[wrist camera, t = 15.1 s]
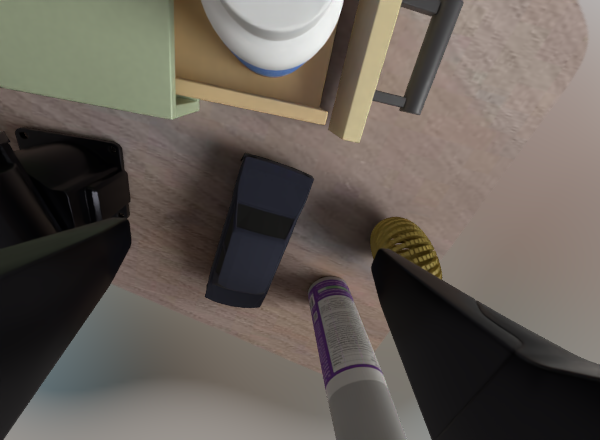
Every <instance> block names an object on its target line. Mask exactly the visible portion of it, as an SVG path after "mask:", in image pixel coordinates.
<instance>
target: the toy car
mask: <svg viewBox="0 0 600 440" xmlns="http://www.w3.org/2000/svg"><path fill="white" fill-rule="evenodd" d="M242 160H243V161H242ZM241 161H242V164H241V167H240V170H239V174H238V177H237V180H236V184H235V188H234V192H233V196H232V201H231V204H230V207H229V211H228V214H227V217H226V220H225V224H224V227H223V231H222V234H221V237H220V241H219V244H218V248H217V251H216V255H215V258H214V261H213V265H212V268H211V272H210V276H209V280H208V284H207V289H206V294H205V297H206V298H208V299H210V300H212V301H215V302H218V303H221V304H225V305H229V306H234V307H242V308H258V307H260V306H261V304H262V302H263V300H264V298H265V296H266V294H267V292H268V290H269V287H270V285H271V282H272V280H273V278H274V275H275V273H276V270H277V268H278V266H279V263H280V261H281V259H282V256H283V254H284V251H285V249H286V247H287V244H288V242H289V239H290V237H291V235H292V232H293V230H294V227H295V225H296V222H297V219H298V217H299V215H300V213H301V211H302V209H303V207H304V205H305V203H306V200H307V197H308V195H309V192H310V189H311V186H312V183H313V180H314V179H313V176H311V175H309V174H307V173H304V172H302V171H300V170H297V169H295V168H292V167H289V166H286V165H284V164H281V163H278V162H275V161H272V160H269V159H266V158H263V157H259V156H256V155H252V154H248V153H245V154H244V155H243V157H242V159H241Z"/></svg>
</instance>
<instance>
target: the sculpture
mask: <svg viewBox="0 0 600 440" xmlns="http://www.w3.org/2000/svg"><path fill="white" fill-rule="evenodd" d="M395 229H396V230H395ZM387 234H388V235H387ZM391 238H394V239H392V240H391ZM397 243H402V244H400V245H399V244H397ZM394 244H397V245H394ZM370 246H371V252H372V256H373V258H375V256H376V253H377V251H378V250H379V249H380V248H385V249H390V250H392V251H394V252H396V253H397V254H399V255H401V256H402V257H404V258H406V259H407V260H409V261H411V262H412V263H414V264H416V265H418V266H419V267H421V268H423V269H424V270H426V271H428V272H429V273H431V274H433V275H435V276H436V277H438V278H440V279H441V280H442V271H441V267H440V263H439V259H438V257H437V256H436V255H437V254H436V252H435V251H433V250H434V248H433V246H432V245H431V242H430V240H429V239H428V237H426V235H425V234H424V232H423V231H422V230H421V229H420V228H419V227H418V226H417V225H416V224H414V223H413V222H411V221H409V220H408V219H405V218H401V217H390V218H386V219H384V220H382V221H380V222H379V223H378V224H377V225H376V226H375V227H374V229H373V231H372V234H371V237H370ZM404 248H408V249H404ZM402 249H403V250H402ZM400 253H401V254H400ZM404 253H405V254H404Z"/></svg>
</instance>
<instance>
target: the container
mask: <svg viewBox="0 0 600 440" xmlns="http://www.w3.org/2000/svg"><path fill="white" fill-rule="evenodd" d="M308 299H309V304H310V310H311V315H312V320H313V326H314V331H315V336H316V342H317V347H318V352H319V357H320V363H321V368H322V373H323V379H324V384H325V389H326V394H327V398H328V403H329V408H330V412H331V417H332V421H333V426H334V431H335V436H336V440H407V438H406V435H405V433H404V429H403V427H402V424H401V421H400V419H399V416H398V413H397V411H396V408H395V405H394V403H393V400H392V397H391V395H390V392H389V389H388V387H387V384H386V381H385V378H384V376H383V373H382V371H381V368H380V366H379V363H378V361H377V358H376V356H375V353H374V351H373V348H372V346H371V343H370V341H369V338H368V336H367V333H366V331H365V328H364V326H363V323H362V321H361V318H360V316H359V313H358V311H357V308H356V306H355V303H354V301H353V298H352V296H351V293H350V291H349V288H348V286H347V284H346V282H345V281H344V280H342V279H341V278H338V277H332V276H330V277H324V278H321V279H319V280H317V281H315V282H314V283H313V284H312V285H311V286H310V288H309V291H308Z"/></svg>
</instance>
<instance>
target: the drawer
mask: <svg viewBox="0 0 600 440" xmlns="http://www.w3.org/2000/svg"><path fill="white" fill-rule="evenodd" d="M400 6H401V7H404V8H407V9H410V10H413V11H416V12H419V13H422V14H426V15H429V16H432V18H431V21H430V24H429V26H428V29H427V32H426V35H425V38H424V41H423V44H422V46H421V49H420V52H419V55H418V58H417V61H416V64H415V66H414V69H413V72H412V75H411V78H410V81H409V83H408V86H407V89H406V92H405V95H404V97H401V96H397V95H393V94H389V93H385V92H381V91H377V90H375V89H376V86H377V83H378V79H379V76H380V73H381V69H382V66H383V63H384V59H385V56H386V53H387V50H388V46H389V43H390V40H391V36H392V33H393V30H394V26H395V23H396V20H397V16H398V13H399V10H400ZM462 6H463V1H462V0H359V3H358V7H357V12H356V16H355V20H354V24H353V28H352V32H351V36H350V41H349V45H348V49H347V53H346V57H345V61H344V66H343V70H342V74H341V78H340V82H339V86H338V90H337V95H336V99H335V103H334V107H333V111H332V115H331V120H330V124H329V128H328V130H330V131H331V132H332V133H334V134H335V135H337V136H338V137H339V138H341V139H342V140H346V141H351V142H356V143H359V142H360V139H361V136H362V132H363V129H364V126H365V123H366V119H367V116H368V113H369V109H370V106H371V103H372V101H376V102H380V103H384V104H388V105H393V106H397V107H400V109H399V110H400V111H403V112H407V113H412V114H417V115H420V114H421V111H422V109H423V106H424V103H425V101H426V98H427V96H428V93H429V91H430V88H431V85H432V83H433V80H434V78H435V75H436V73H437V70H438V67H439V65H440V62H441V60H442V57H443V55H444V52H445V49H446V47H447V44H448V42H449V39H450V37H451V34H452V31H453V29H454V26H455V24H456V21H457V19H458V16H459V13H460V11H461V8H462ZM338 20H339V18H338ZM337 25H338V21H337V23H336V26H335V28H334V30H333V31H332V33H331V35H330V37H329V38H328V40H327V41H326V43H325V44H324V45H323V46H322V48H321V49H320V50H319V51H318V52H317V53H316V54H315V55H314V56H313V57H312V58H311V59H310V60H308V61H307V62H306V63H304V64H303V65H302V66H301V67H299V68H298V69H297V70H296V71H294V72H292V73H291V74H288V75H286V76H283V77H277V78H270V77H264V76H261V75H258V74H256V73H254V72H252V71H251V70H249V69H248V68H247V67H245V66H244V65H243V64H242V63H241V62H240V61H239V60H238V58H237V57H236V56H235V55H234V54H233V53H232V52H231V51H230V50H229V48H228V47H227V46H226V45H225V44H224V43H223V41H222V40H221V39H220V37H219V36H218V34H217V33H216V31H215V30H214V28H213V27H212V25H211V23H210V21H209V19H208V17H207V15H206V13H205V10H204V8H203V5H202V2H201V0H174V38H175V89H176V95H181V96H186V97H191V98H196V99H200V100H205V101H210V102H215V103H220V104H224V105H229V106H234V107H239V108H244V109H249V110H253V111H258V112H263V113H268V114H273V115H277V116H282V117H287V118H292V119H297V120H301V121H306V122H311V123H316V124H321V125H325V123H326V119H327V115H328V112H327V111H325V110H323V109H320V108H319V107H320V103H321V98H322V94H323V89H324V84H325V80H326V75H327V71H328V66H329V61H330V57H331V52H332V48H333V43H334V38H335V34H336V29H337Z"/></svg>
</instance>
